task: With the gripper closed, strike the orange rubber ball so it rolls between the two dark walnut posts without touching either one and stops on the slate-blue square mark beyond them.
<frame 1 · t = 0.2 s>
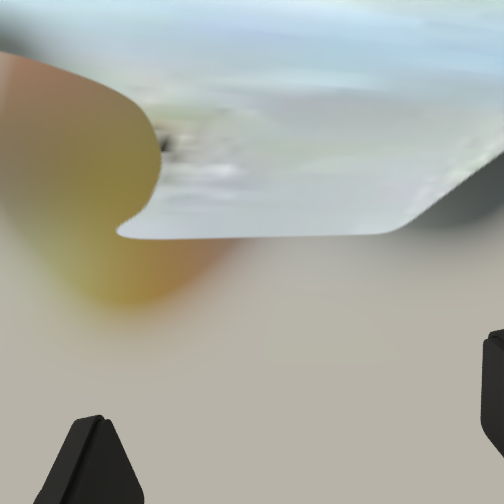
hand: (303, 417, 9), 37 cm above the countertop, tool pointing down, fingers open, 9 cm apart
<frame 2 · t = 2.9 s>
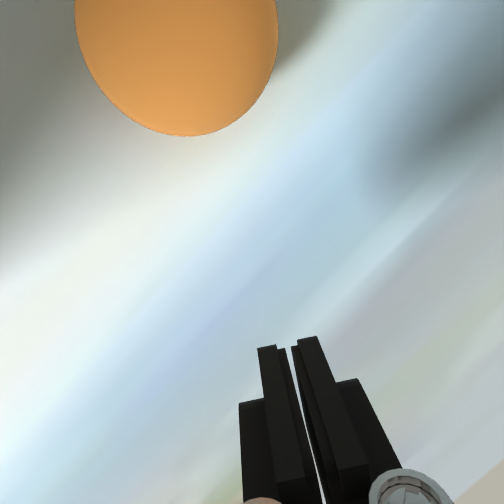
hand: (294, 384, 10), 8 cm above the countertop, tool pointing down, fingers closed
ball: (181, 35, 12), on the countertop
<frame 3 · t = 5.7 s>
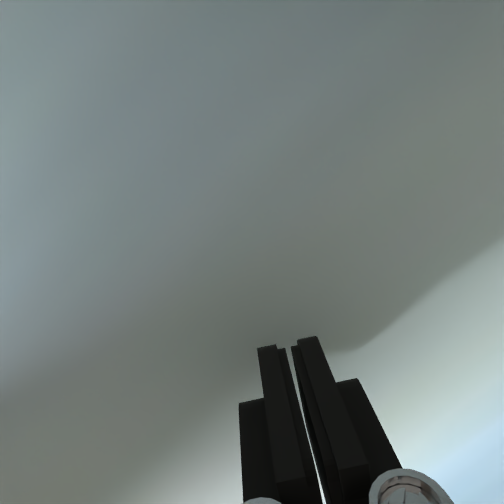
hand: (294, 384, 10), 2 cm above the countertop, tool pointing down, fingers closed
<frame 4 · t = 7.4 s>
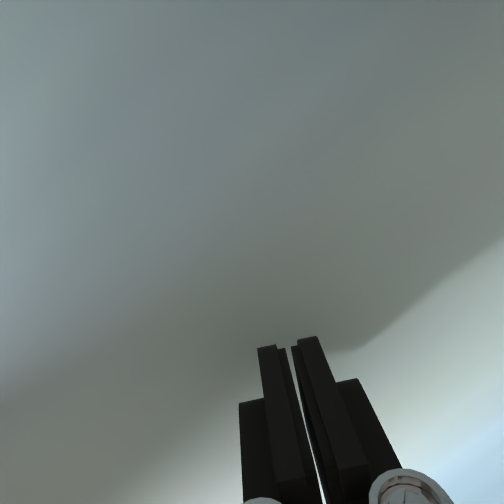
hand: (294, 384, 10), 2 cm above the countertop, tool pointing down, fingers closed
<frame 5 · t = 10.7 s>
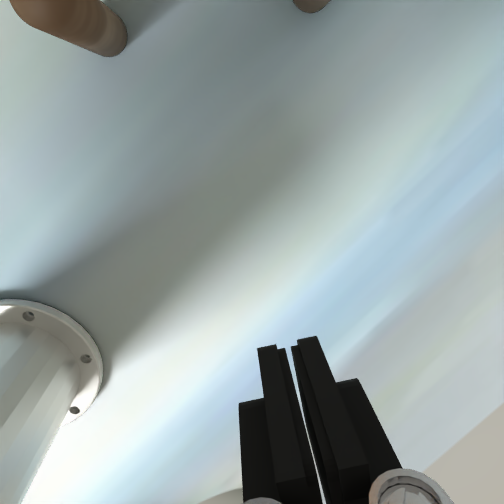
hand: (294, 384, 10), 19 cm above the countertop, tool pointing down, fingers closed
post 2: (105, 33, 24), on the countertop
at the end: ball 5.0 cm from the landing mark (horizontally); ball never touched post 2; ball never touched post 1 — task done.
